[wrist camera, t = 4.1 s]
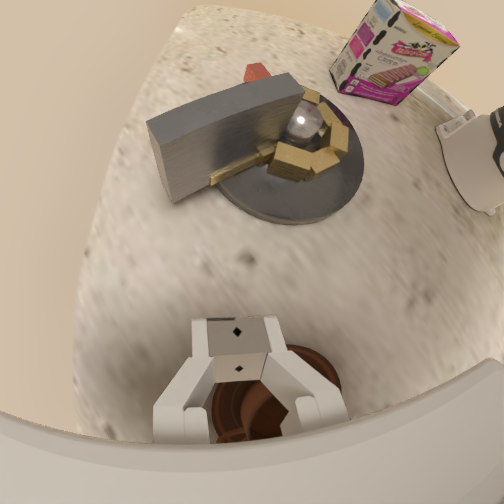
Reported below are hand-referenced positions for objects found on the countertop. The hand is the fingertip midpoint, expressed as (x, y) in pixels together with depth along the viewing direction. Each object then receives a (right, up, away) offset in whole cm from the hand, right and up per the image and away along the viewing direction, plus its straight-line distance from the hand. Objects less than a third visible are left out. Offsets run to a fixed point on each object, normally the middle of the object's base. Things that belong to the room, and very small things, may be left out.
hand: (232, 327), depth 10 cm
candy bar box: (+17, +26, +22) cm, 39 cm away
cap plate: (+4, +14, +17) cm, 22 cm away
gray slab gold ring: (+1, +12, +14) cm, 19 cm away
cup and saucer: (+3, -11, +13) cm, 18 cm away
